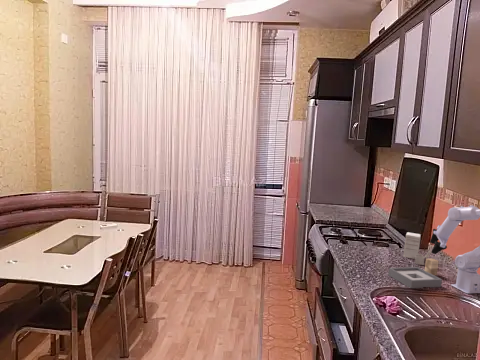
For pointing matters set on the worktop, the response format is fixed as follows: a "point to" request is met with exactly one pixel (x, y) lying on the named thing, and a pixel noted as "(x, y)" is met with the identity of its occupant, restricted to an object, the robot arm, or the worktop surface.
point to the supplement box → (411, 245)
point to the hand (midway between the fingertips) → (432, 248)
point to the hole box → (414, 277)
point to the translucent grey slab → (421, 258)
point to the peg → (431, 266)
